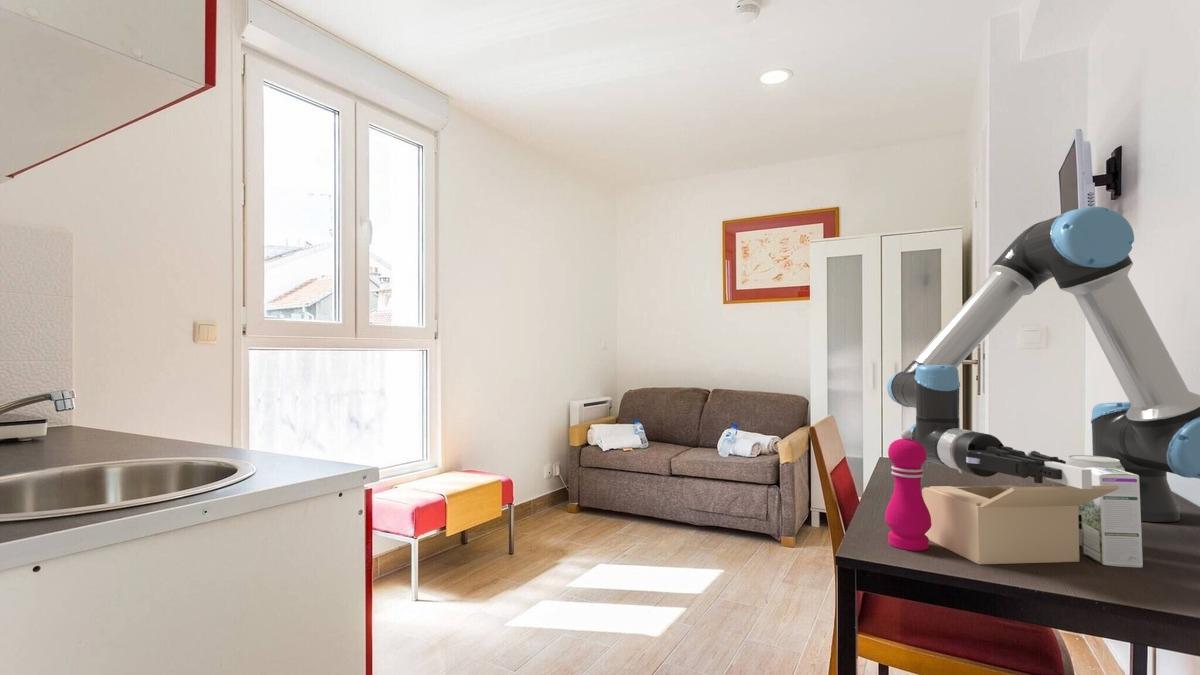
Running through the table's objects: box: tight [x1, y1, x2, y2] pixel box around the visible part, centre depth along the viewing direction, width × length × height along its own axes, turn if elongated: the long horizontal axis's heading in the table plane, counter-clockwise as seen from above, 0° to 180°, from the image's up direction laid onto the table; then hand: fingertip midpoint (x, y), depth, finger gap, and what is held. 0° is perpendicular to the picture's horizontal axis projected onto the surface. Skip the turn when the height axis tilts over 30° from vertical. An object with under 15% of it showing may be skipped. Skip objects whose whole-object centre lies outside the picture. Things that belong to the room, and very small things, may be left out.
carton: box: [921, 484, 1080, 565], centre depth 103 cm, size 17×15×9 cm
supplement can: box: [1064, 454, 1125, 547], centre depth 105 cm, size 8×8×15 cm
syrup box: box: [1081, 467, 1144, 569], centre depth 97 cm, size 6×6×14 cm
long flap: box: [980, 485, 1119, 508], centre depth 92 cm, size 17×1×8 cm
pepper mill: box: [884, 429, 932, 552], centre depth 105 cm, size 7×7×20 cm
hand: (1086, 479), depth 85 cm, fingers closed
